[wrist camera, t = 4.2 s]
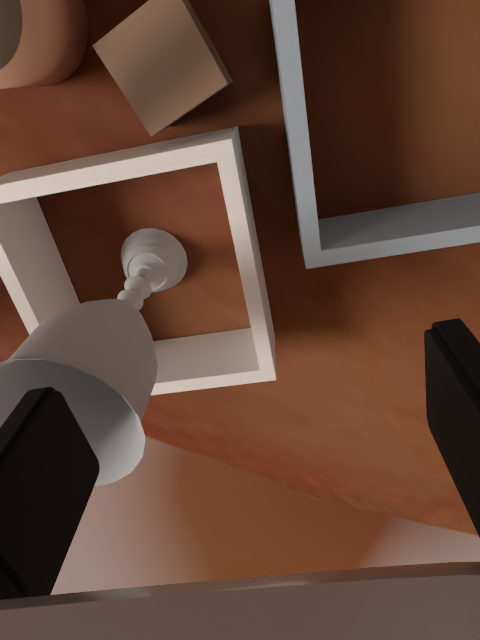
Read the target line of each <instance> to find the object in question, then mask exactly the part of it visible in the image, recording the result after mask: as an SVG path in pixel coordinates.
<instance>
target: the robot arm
mask: <svg viewBox="0 0 480 640" xmlns="http://www.w3.org/2000/svg"><path fill="white" fill-rule="evenodd" d="M424 343H425V375H426V408H427V421H428V425H429V428H430V431H431V433H432V435H433V437H434V440H435V442H436V444H437V446H438V448H439V450H440V453H441V455H442V457H443V459H444V461H445V463H446V466H447V468H448V470H449V472H450V474H451V476H452V479H453V481H454V483H455V485H456V487H457V489H458V492H459V494H460V496H461V498H462V500H463V502H464V505H465V507H466V509H467V511H468V513H469V515H470V518H471V520H472V522H473V524H474V526H475V528H476V531H477V533H478V535H479V537H480V343H479V342H478V340H477V339H476V338H475V337H474V335H473V334H472V333H471V331H470V330H469V329H468V328H467V326H466V325H465V324H464V323H463V321H462V320H461V319H452V320H446V321H440V322H434V323H433V324H432V329H429V330H425V333H424ZM99 471H100V465H99V461H98V459H97V457H96V455H95V453H94V451H93V450H92V448H91V446H90V444H89V442H88V440H87V439H86V437H85V435H84V433H83V431H82V429H81V428H80V426H79V424H78V422H77V420H76V418H75V417H74V415H73V413H72V411H71V409H70V407H69V406H68V404H67V402H66V400H65V398H64V396H63V395H62V393H61V392H59V391H56V390H55V389H54V388H53V387H44V388H38V389H32V390H29V391H27V392H26V393H25V394H24V396H23V397H22V399H21V400H20V401H19V403H18V404H17V405H16V407H15V408H14V410H13V411H12V412H11V414H10V415H9V416H8V418H7V419H6V420H5V422H4V423H3V425H2V426H1V427H0V640H480V562H448V563H433V564H418V565H404V566H403V565H402V566H387V567H372V568H358V569H346V570H334V571H321V572H310V573H297V574H285V575H273V576H260V577H248V578H236V579H226V580H213V581H202V582H190V583H179V584H167V585H156V586H145V587H134V588H123V589H111V590H100V591H90V592H79V593H68V594H58V595H50V593H51V592H52V589H53V587H54V584H55V582H56V579H57V577H58V574H59V572H60V569H61V567H62V564H63V562H64V559H65V557H66V554H67V552H68V549H69V547H70V545H71V542H72V540H73V537H74V535H75V532H76V530H77V527H78V525H79V522H80V520H81V517H82V515H83V512H84V510H85V507H86V505H87V502H88V500H89V497H90V495H91V492H92V490H93V487H94V485H95V483H96V480H97V478H98V475H99Z"/></svg>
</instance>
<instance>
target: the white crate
mask: <svg viewBox="0 0 480 640" xmlns="http://www.w3.org/2000/svg"><path fill="white" fill-rule="evenodd" d="M214 162H217V165H218V169H219V174H220V179H221V184H222V189H223V194H224V199H225V203H226V208H227V213H228V218H229V223H230V228H231V232H232V237H233V242H234V247H235V252H236V257H237V262H238V266H239V271H240V276H241V281H242V286H243V291H244V296H245V300H246V305H247V310H248V315H249V320H250V325H251V328H246V329H238V330H231V331H224V332H217V333H210V334H202V335H195V336H188V337H181V338H174V339H166V340H159V341H153V344H154V348H155V353H156V359H157V364H158V369H157V376H156V381H155V384H154V387H153V390H152V393H151V395H157V394H165V393H174V392H182V391H190V390H198V389H206V388H215V387H223V386H231V385H239V384H248V383H256V382H264V381H272V380H276V356H275V334H274V328H273V323H272V317H271V311H270V306H269V300H268V294H267V289H266V283H265V277H264V272H263V266H262V261H261V255H260V249H259V244H258V238H257V232H256V227H255V221H254V216H253V210H252V204H251V199H250V193H249V187H248V182H247V176H246V171H245V165H244V159H243V154H242V148H241V142H240V137H239V131H238V126H236V127H231V128H226V129H222V130H217V131H212V132H207V133H202V134H197V135H192V136H187V137H182V138H177V139H172V140H167V141H162V142H157V143H152V144H147V145H143V146H138V147H133V148H128V149H123V150H118V151H113V152H108V153H103V154H98V155H93V156H88V157H83V158H78V159H73V160H69V161H64V162H59V163H54V164H49V165H44V166H39V167H34V168H29V169H24V170H19V171H14V172H10V173H8V174H5V175H3V176H1V177H0V276H1V278H2V280H3V282H4V284H5V286H6V288H7V290H8V292H9V294H10V296H11V298H12V300H13V302H14V304H15V307H16V309H17V311H18V313H19V315H20V317H21V319H22V321H23V323H24V325H25V327H26V329H27V331H28V333H29V335H31V333H32V332H33V331H34V330H35V329H36V328H37V327H38V326H39V324H41V323H42V322H43V321H44V320H45V319H47V318H48V317H49V316H50V315H51V314H53V313H56V312H59V311H62V310H64V309H67V308H70V307H73V306H76V305H79V304H80V302H79V299H78V297H77V295H76V292H75V290H74V287H73V285H72V283H71V280H70V278H69V275H68V273H67V270H66V268H65V266H64V263H63V261H62V258H61V256H60V253H59V251H58V249H57V246H56V244H55V241H54V239H53V236H52V234H51V232H50V229H49V227H48V224H47V222H46V219H45V217H44V215H43V212H42V210H41V207H40V205H39V203H38V200H37V198H36V197H38V196H43V195H48V194H53V193H59V192H64V191H69V190H74V189H79V188H85V187H90V186H95V185H100V184H105V183H111V182H116V181H121V180H126V179H131V178H136V177H142V176H147V175H152V174H157V173H162V172H168V171H173V170H178V169H183V168H188V167H194V166H199V165H204V164H209V163H214Z"/></svg>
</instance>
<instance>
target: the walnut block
mask: <svg viewBox="0 0 480 640" xmlns="http://www.w3.org/2000/svg"><path fill="white" fill-rule="evenodd" d="M92 46H93V48H94V49H95V51H96V52H97V54H98V55H99V57H100V59H101V60H102V62H103V63H104V65H105V66H106V68H107V69H108V71H109V73H110V74H111V76H112V77H113V79H114V80H115V82H116V83H117V85H118V86H119V88H120V90H121V91H122V93H123V94H124V96H125V97H126V99H127V100H128V102H129V104H130V105H131V107H132V108H133V110H134V111H135V113H136V114H137V116H138V117H139V119H140V121H141V122H142V124H143V125H144V127H145V128H146V130H147V131H148V133H149V135H150V136H153V135H155V134H157V133H158V132H160V131H162V130H163V129H165V128H167V127H168V126H170V125H171V124H173V123H174V122H176V121H177V120H179V119H180V118H181V117H183V116H184V115H186V114H187V113H189V112H190V111H192V110H193V109H195V108H196V107H197V106H199V105H200V104H202V103H203V102H205V101H206V100H208V99H209V98H211V97H212V96H213V95H215V94H216V93H218V92H219V91H221V90H222V89H224V88H225V87H227V86H228V85H229V84H231V83H232V82H233V80H232V79H231V77H230V75H229V73H228V71H227V69H226V67H225V66H224V64H223V62H222V60H221V58H220V56H219V54H218V52H217V51H216V49H215V47H214V45H213V43H212V41H211V39H210V37H209V36H208V34H207V32H206V30H205V28H204V26H203V24H202V22H201V21H200V19H199V17H198V15H197V13H196V11H195V9H194V7H193V6H192V4H191V2H190V0H148V1H147V2H146V3H145V4H143V5H142V6H141V7H140V8H138V9H137V10H136V11H135V12H133V13H132V14H131V15H130V16H128V17H127V18H126V19H125V20H124V21H122V22H121V23H120V24H119V25H117V26H116V27H115V28H114V29H112V30H111V31H110V32H109V33H107V34H106V35H105V36H104V37H102V38H101V39H100V40H99V41H97V42H96V43H95V44H94V45H92Z"/></svg>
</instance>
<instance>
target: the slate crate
mask: <svg viewBox="0 0 480 640" xmlns="http://www.w3.org/2000/svg"><path fill="white" fill-rule="evenodd" d="M269 6H270V13H271V21H272V29H273V36H274V44H275V52H276V60H277V67H278V75H279V83H280V91H281V98H282V106H283V114H284V122H285V129H286V137H287V145H288V152H289V160H290V168H291V176H292V183H293V191H294V199H295V207H296V214H297V222H298V230H299V237H300V242H301V247H302V252H303V256H304V261H305V266H306V269H309V268H316V267H322V266H329V265H335V264H342V263H348V262H355V261H361V260H367V259H374V258H380V257H387V256H393V255H400V254H406V253H413V252H419V251H426V250H432V249H439V248H445V247H452V246H458V245H465V244H471V243H478V242H480V192H478V193H472V194H466V195H460V196H454V197H449V198H443V199H437V200H431V201H425V202H419V203H413V204H407V205H401V206H395V207H389V208H383V209H378V210H372V211H366V212H360V213H354V214H348V215H342V216H336V217H330V218H324V219H318V217H317V207H316V198H315V189H314V179H313V170H312V160H311V151H310V141H309V132H308V123H307V113H306V104H305V94H304V85H303V75H302V66H301V57H300V47H299V38H298V28H297V19H296V10H295V0H269Z"/></svg>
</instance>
